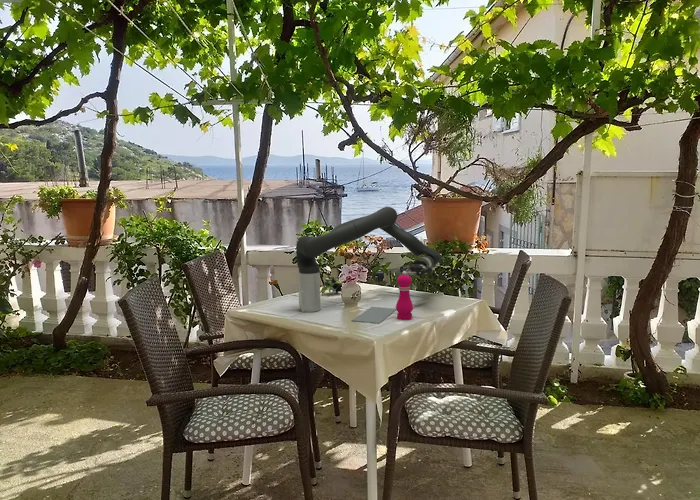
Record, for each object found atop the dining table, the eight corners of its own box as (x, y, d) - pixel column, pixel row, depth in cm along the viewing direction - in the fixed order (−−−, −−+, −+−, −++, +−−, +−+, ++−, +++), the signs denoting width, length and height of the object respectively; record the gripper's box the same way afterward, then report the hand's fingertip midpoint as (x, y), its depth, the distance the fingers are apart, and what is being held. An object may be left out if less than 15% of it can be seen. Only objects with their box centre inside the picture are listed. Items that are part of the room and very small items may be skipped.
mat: (379, 323, 207) (379, 322, 207) (351, 321, 211) (351, 320, 211) (397, 309, 229) (397, 308, 228) (371, 307, 233) (371, 306, 233)
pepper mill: (402, 314, 220) (401, 268, 217) (416, 317, 215) (416, 270, 213) (392, 318, 214) (392, 271, 212) (407, 321, 210) (406, 273, 207)
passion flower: (336, 303, 266) (350, 284, 265) (333, 304, 255) (347, 284, 254) (319, 290, 267) (332, 271, 267) (315, 291, 256) (329, 271, 256)
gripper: (406, 257, 240) (396, 263, 225) (436, 258, 234) (428, 264, 219) (407, 273, 241) (396, 279, 226) (437, 274, 235) (428, 281, 221)
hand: (412, 272), depth 223 cm, fingers open, 8 cm apart
